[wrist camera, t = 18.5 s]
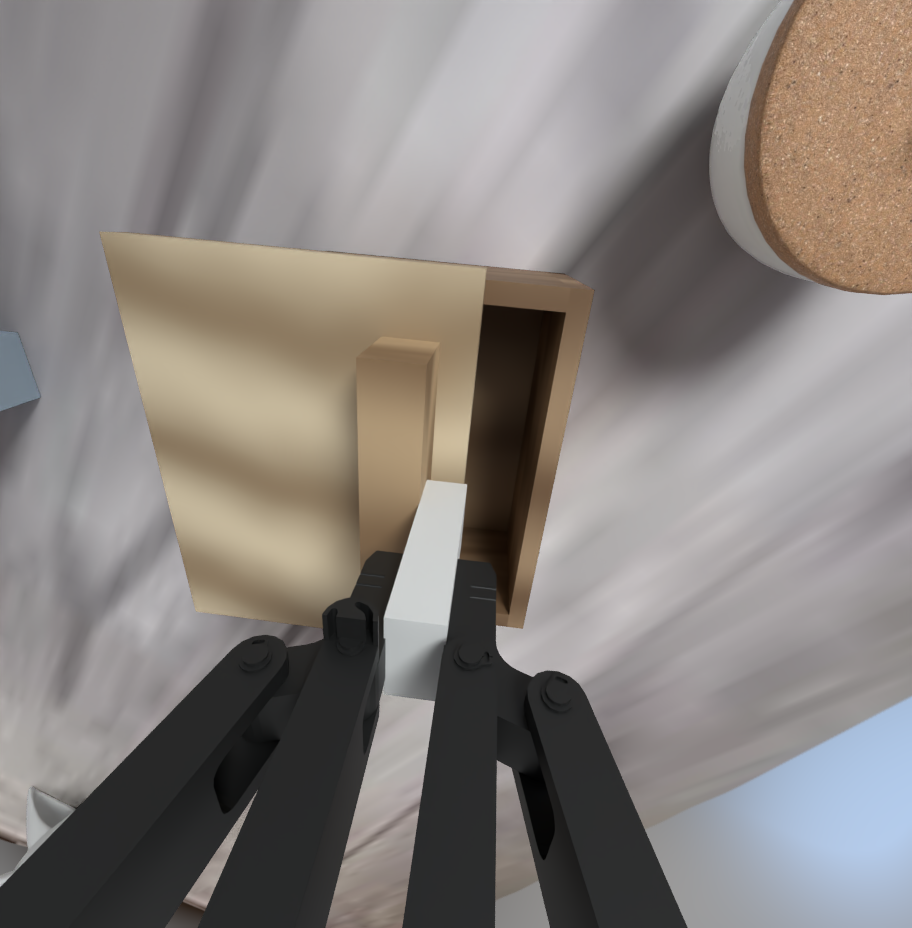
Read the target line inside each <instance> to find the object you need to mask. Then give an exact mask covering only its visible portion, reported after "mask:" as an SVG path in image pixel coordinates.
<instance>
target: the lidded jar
mask: <svg viewBox="0 0 912 928" xmlns="http://www.w3.org/2000/svg"><path fill="white" fill-rule="evenodd" d="M709 178H710V185H711V192H712V198H713V201H714V204H715V207H716V210H717V213H718V216H719V218H720V220H721V222H722V224H723V225H724V227H725V229H726V231H727V233H728V234H729V235H730V236H731V237H732V239H733V240H734V241H735V242H736V243H737V244H738V246H740V247H741V248H742V249H743V250H745V251H746V252H747V253H748V254H750V255H751V256H752V257H754V258H755V259H756V260H757V261H759V262H760V263H762V264H764V265H766V266H768V267H770V268H772V269H774V270H776V271H779V272H781V273H783V274H786V275H788V276H792V277H796V278H799V279H803V280H807V281H811V282H816V283H818V284H822V285H825V286H829V287H832V288H836V289H840V290H843V291H849V292H856V293H867V294H878V295H890V294H905V293H912V0H781V1H780V3H779V4H778V5H777V6H776V8H775V9H774V10H773V11H772V13H771V14H770V15H769V17H768V18H767V20H766V21H765V23H764V24H763V25H762V27H761V28H760V30H759V31H758V33H757V34H756V35H755V37H754V38H753V40H752V42H751V43H750V45H749V46H748V48H747V50H746V51H745V53H744V55H743V57H742V59H741V60H740V62H739V64H738V66H737V68H736V70H735V71H734V73H733V75H732V77H731V79H730V81H729V84H728V86H727V89H726V91H725V93H724V96H723V98H722V101H721V103H720V106H719V110H718V113H717V117H716V121H715V124H714V128H713V133H712V140H711V147H710V154H709Z"/></svg>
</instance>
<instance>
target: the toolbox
mask: <svg viewBox="0 0 912 928" xmlns="http://www.w3.org/2000/svg"><path fill="white" fill-rule="evenodd" d="M327 252H333V251H327ZM337 253H343V252H337ZM347 254H353V253H347ZM358 255H364V254H358ZM368 256H374V255H368ZM379 257H385V256H379ZM389 258H395V257H389ZM399 259H405V258H399ZM410 260H416V259H410ZM420 261H426V260H420ZM431 262H437V261H431ZM441 263H447V262H441ZM451 264H457V263H451ZM462 265H468V264H462ZM472 266H478V265H472ZM482 267H487V274H486V283H485V293H484V302H483V312H482V321H481V331H480V340H479V350H478V359H477V369H476V378H475V387H474V397H473V406H472V416H471V425H470V435H469V444H468V454H467V463H466V473H465V482H464V484H467V492H466V502H465V512H464V522H463V532H462V542H461V550H460V558H459V559H462V560H471V561H479V562H488V563H490V564H491V566H492V568H493V569H494V571H495V573H496V575H497V577H496V625H498V626H506V627H514V628H522V629H523V625H524V620H525V616H526V611H527V606H528V602H529V597H530V592H531V587H532V583H533V578H534V573H535V569H536V564H537V559H538V554H539V550H540V545H541V540H542V536H543V531H544V526H545V521H546V517H547V512H548V507H549V503H550V498H551V493H552V488H553V484H554V479H555V474H556V470H557V465H558V460H559V456H560V451H561V446H562V441H563V437H564V432H565V427H566V423H567V418H568V413H569V408H570V404H571V399H572V394H573V390H574V385H575V380H576V375H577V371H578V366H579V361H580V357H581V352H582V347H583V342H584V338H585V333H586V328H587V324H588V319H589V314H590V310H591V305H592V300H593V295H594V291H595V290H593V289H591V288H590V287H588V286H586V285H584V284H582V283H580V282H579V281H577V280H575V279H573V278H571V277H569V276H567V275H566V274H561V273H551V272H540V271H530V270H520V269H509V268H499V267H488V266H482Z"/></svg>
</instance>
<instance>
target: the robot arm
mask: <svg viewBox="0 0 912 928" xmlns="http://www.w3.org/2000/svg"><path fill="white" fill-rule="evenodd" d="M466 492H467V484H460V483H451V482H442V481H433V480H427V481H426V484H425V487H424V490H423V494H422V497H421V500H420V504H419V505H418V509H417V512H416V515H415V518H414V522H413V525H412V528H411V531H410V534H409V538H408V541H407V544H406V547H405V551H404V554H403V553H394V552H386V551H378V550H377V551H376V552H374V553H373V554H372V555H371V556H370V557H369V558H368V559H367V560H366V561H365V563H364V566H363V568H362V570H361V573H360V575H359V577H358V580H357V582H356V585H355V587H354V589H353V592H352V594H351V596H350V598H345V599H341V600H338V601H336V602H334V603H333V604H331V605H330V606H328V607H327V608H326V610H325V611H324V612H323V614H322V623H323V634H324V639H322V640H320V641H317V642H315V643H311V644H307V645H301V646H294V647H288V648H286V646H285V644H284V642H283V641H282V640H280V639H278V638H277V637H275V636H269V635H262V636H255V637H252V638H249V639H247V640H245V641H242V642H241V643H240V644H238V645H237V646H236V647H235V648H233V649H232V650H231V651H230V652H229V653H228V654H227V655H226V656H225V657H224V658H223V659H222V660H221V661H220V662H219V663H218V664H217V665H216V666H215V667H214V668H213V670H212V671H211V672H210V673H209V674H208V675H207V676H206V677H205V678H204V679H203V680H202V681H201V682H200V683H199V684H198V685H197V686H196V687H195V688H194V689H193V690H192V691H191V692H190V693H189V694H188V695H187V696H186V697H185V698H184V699H183V700H182V701H181V702H180V703H179V704H178V705H177V706H176V707H175V708H174V709H173V710H172V712H171V713H170V714H169V715H168V716H167V717H166V718H165V719H164V720H163V721H162V722H161V723H160V724H159V725H158V726H157V727H156V728H155V729H154V730H153V731H152V732H151V733H150V734H149V735H148V736H147V737H146V738H145V739H144V740H143V741H142V742H141V743H140V744H139V745H138V746H137V747H136V748H135V749H134V750H133V751H132V752H131V754H130V755H129V756H128V757H127V758H126V759H125V760H124V761H123V762H122V763H121V764H120V765H119V766H118V767H117V768H116V769H115V770H114V771H113V772H112V773H111V774H110V775H109V776H108V777H107V778H106V779H105V780H104V781H103V782H102V783H101V784H100V785H99V786H98V787H97V788H96V789H95V790H94V791H93V792H92V793H91V794H90V796H89V797H88V798H87V799H86V800H85V801H84V802H83V803H82V804H81V805H80V806H79V807H78V808H77V809H76V810H75V811H74V812H73V813H72V814H71V815H70V816H69V817H68V818H67V819H66V820H65V821H64V822H63V823H62V824H61V825H60V826H59V827H58V828H57V829H56V830H55V831H54V832H53V833H52V834H51V835H50V836H49V837H48V839H47V840H46V841H45V842H44V843H43V844H42V845H41V846H40V847H39V848H38V849H37V850H36V851H35V852H34V853H33V854H32V855H31V856H30V857H29V858H28V859H27V860H26V861H25V862H24V863H23V864H22V865H21V866H20V867H19V868H18V869H17V870H16V871H15V872H14V873H13V874H12V875H11V876H10V877H9V878H8V879H7V881H6V882H5V883H4V884H3V885H2V886H1V887H0V928H165V926H166V925H167V924H168V922H169V921H170V919H171V917H172V916H173V915H174V913H175V912H176V910H177V909H178V907H179V906H180V904H181V903H182V901H183V900H184V898H185V897H186V895H187V894H188V892H189V891H190V889H191V888H192V887H193V885H194V884H195V882H196V881H197V879H198V878H199V876H200V875H201V873H202V872H203V870H204V869H205V867H206V866H207V864H208V863H209V861H210V860H211V858H212V857H213V855H214V854H215V852H216V851H217V849H218V848H219V847H220V845H221V844H222V842H223V841H224V839H225V838H226V836H227V835H228V833H229V832H230V830H231V829H232V827H233V826H234V824H235V823H236V821H237V820H238V818H239V817H240V815H241V814H242V812H243V811H244V810H245V808H246V807H247V805H248V804H249V802H250V801H251V799H252V798H253V796H254V795H255V793H256V792H257V794H256V796H255V798H254V800H253V803H252V805H251V807H250V810H249V812H248V814H247V816H246V819H245V821H244V823H243V826H242V828H241V830H240V832H239V835H238V837H237V839H236V842H235V844H234V846H233V848H232V851H231V853H230V855H229V857H228V860H227V862H226V864H225V867H224V869H223V871H222V873H221V876H220V878H219V880H218V883H217V885H216V887H215V889H214V892H213V894H212V896H211V899H210V901H209V903H208V905H207V908H206V910H205V912H204V915H203V917H202V919H201V921H200V924H199V926H198V928H325V927H326V923H327V919H328V915H329V911H330V907H331V903H332V899H333V895H334V891H335V887H336V883H337V879H338V875H339V871H340V867H341V864H342V860H343V856H344V852H345V848H346V844H347V840H348V836H349V832H350V828H351V824H352V820H353V816H354V812H355V808H356V804H357V800H358V797H359V793H360V789H361V785H362V781H363V777H364V773H365V769H366V765H367V761H368V757H369V753H370V749H371V745H372V741H373V737H374V733H375V729H376V726H377V722H378V718H379V701H380V697H381V693H382V689H383V685H384V694H386V695H394V696H401V697H408V698H416V699H423V700H431V701H435V706H434V713H433V720H432V727H431V734H430V741H429V747H428V754H427V761H426V768H425V775H424V782H423V789H422V796H421V803H420V810H419V816H418V823H417V830H416V837H415V844H414V851H413V858H412V865H411V872H410V878H409V885H408V892H407V899H406V906H405V913H404V920H403V927H402V928H495V867H496V775H497V760H498V761H499V762H501V763H503V764H505V765H507V766H509V767H511V768H512V771H513V775H514V779H515V783H516V787H517V792H518V796H519V800H520V804H521V808H522V812H523V816H524V821H525V825H526V829H527V833H528V837H529V841H530V846H531V850H532V854H533V858H534V862H535V866H536V871H537V875H538V879H539V883H540V887H541V891H542V896H543V899H544V904H545V908H546V912H547V916H548V920H549V925H550V928H687V925H686V923H685V921H684V919H683V916H682V914H681V912H680V909H679V907H678V905H677V903H676V900H675V898H674V896H673V894H672V891H671V889H670V886H669V884H668V882H667V880H666V878H665V875H664V873H663V870H662V868H661V866H660V864H659V861H658V859H657V857H656V854H655V852H654V850H653V848H652V845H651V843H650V841H649V838H648V836H647V834H646V832H645V829H644V827H643V825H642V822H641V820H640V818H639V815H638V813H637V811H636V809H635V806H634V804H633V802H632V799H631V797H630V795H629V793H628V790H627V788H626V786H625V783H624V781H623V779H622V777H621V774H620V772H619V770H618V767H617V765H616V763H615V760H614V758H613V756H612V754H611V751H610V749H609V747H608V744H607V742H606V740H605V738H604V735H603V733H602V731H601V728H600V726H599V724H598V722H597V719H596V717H595V715H594V712H593V710H592V708H591V706H590V703H589V701H588V699H587V696H586V694H585V693H584V691H583V690H582V688H581V686H580V685H579V684H578V683H577V682H576V681H575V680H573V679H572V678H571V677H570V676H568V675H565V674H563V673H561V672H557V671H544V672H541V673H537V674H536V675H535V676H534V677H531V676H529V675H527V674H524V673H522V672H520V671H518V670H516V669H514V668H513V667H511V666H510V665H509V664H507V663H506V662H505V661H504V660H503V658H502V657H501V656H500V654H499V652H498V650H497V647H496V577H497V575H496V573H495V571H494V569H493V568H492V566H491V564H490V563H488V562H479V561H471V560H462V559H459V558H460V550H461V542H462V532H463V522H464V512H465V502H466ZM257 790H258V791H257Z"/></svg>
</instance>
